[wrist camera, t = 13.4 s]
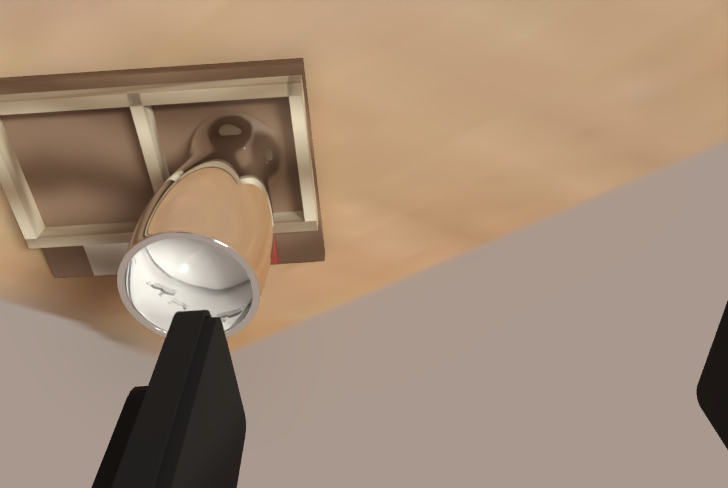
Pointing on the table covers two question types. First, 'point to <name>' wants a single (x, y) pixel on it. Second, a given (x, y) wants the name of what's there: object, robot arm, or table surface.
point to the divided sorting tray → (143, 153)
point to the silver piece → (207, 230)
